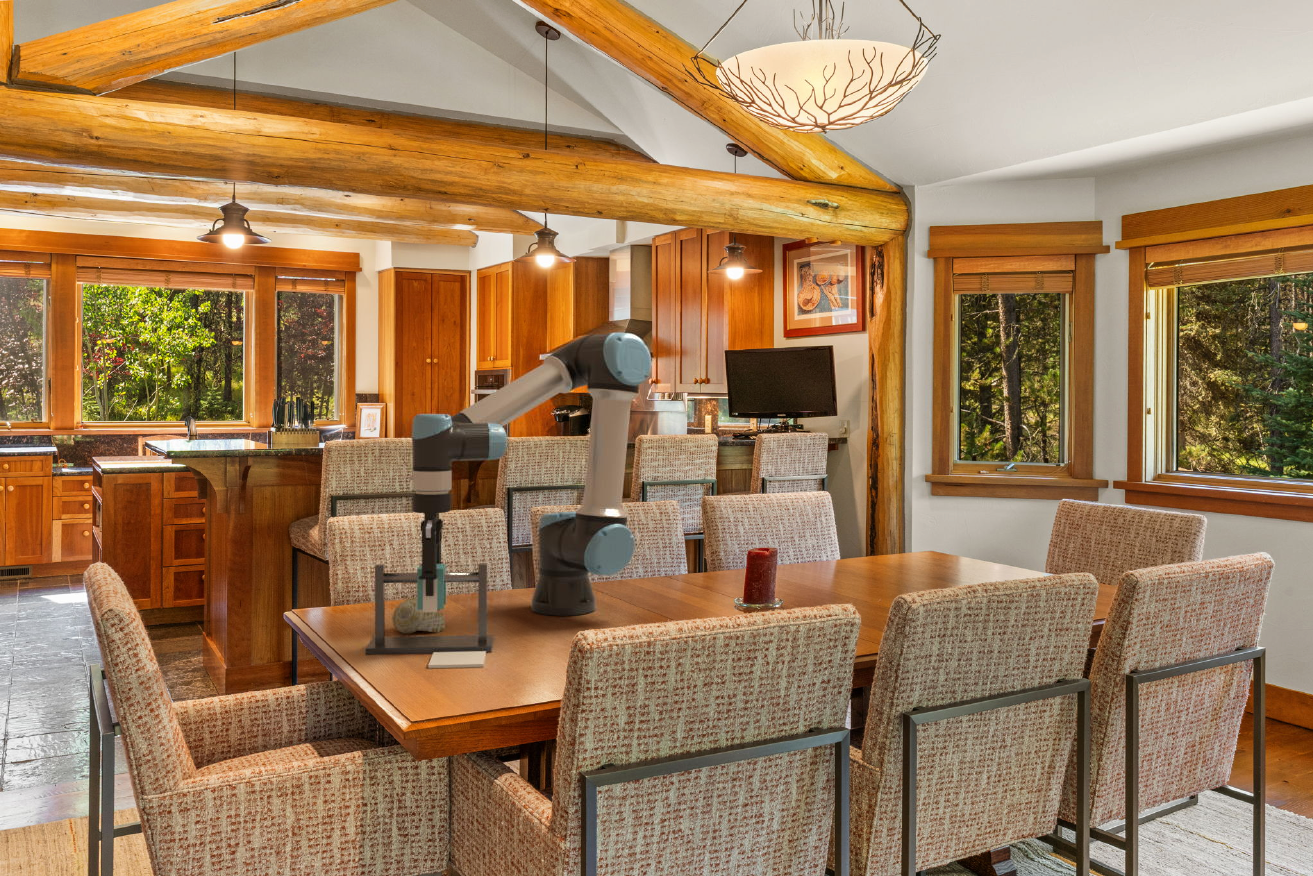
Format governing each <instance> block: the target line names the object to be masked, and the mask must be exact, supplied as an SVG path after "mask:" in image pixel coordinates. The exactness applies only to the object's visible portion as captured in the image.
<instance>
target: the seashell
mask: <svg viewBox="0 0 1313 876" xmlns="http://www.w3.org/2000/svg"><path fill="white" fill-rule="evenodd" d="M391 620H392V624H393V626H394V629H396V630H397V631H398V632H400V633H402V634H409V635H410V634H412V633H415V632H417V631H420V632H421V631H423V632H431V633H441V632H443V631H445V627H446V622H445V621H446V619H445V617H444V614H443V613H442V611H441V609H437V612H423V610H417V596H416V597H410V598H407V599H405V600H403V601H402V602H400V603H399V604H398V605H397V607H395V609H394V611H393V613H392V617H391Z"/></svg>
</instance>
